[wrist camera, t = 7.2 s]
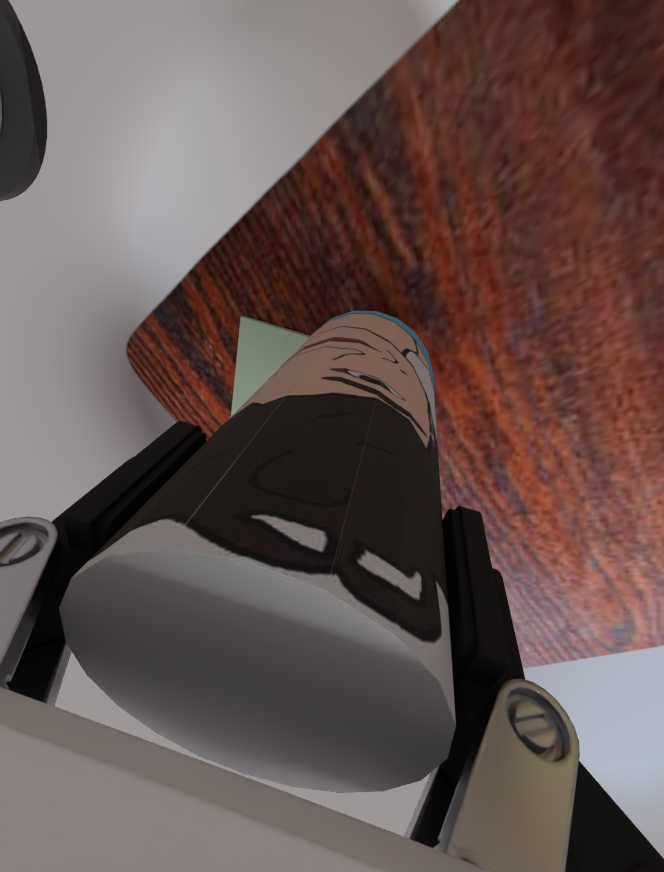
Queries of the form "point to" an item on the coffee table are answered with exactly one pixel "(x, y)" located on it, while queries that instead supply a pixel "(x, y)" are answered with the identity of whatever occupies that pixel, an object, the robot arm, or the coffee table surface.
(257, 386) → the mat
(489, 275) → the coffee table surface
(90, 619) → the cup
